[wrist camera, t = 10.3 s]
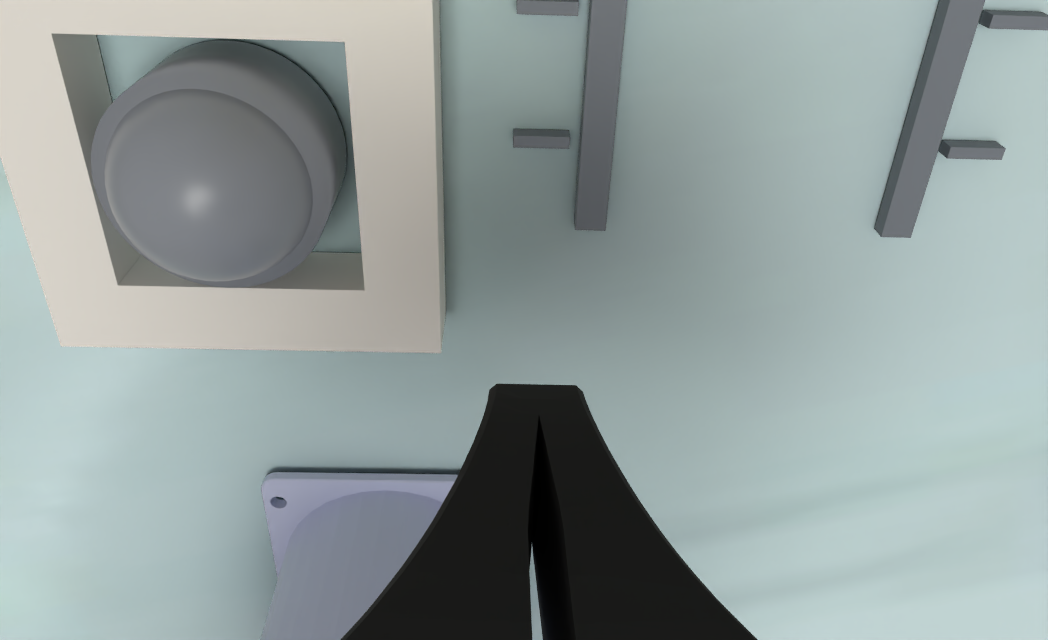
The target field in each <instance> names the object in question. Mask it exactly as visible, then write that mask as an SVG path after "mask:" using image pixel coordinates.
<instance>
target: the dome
mask: <svg viewBox="0 0 1048 640" xmlns="http://www.w3.org/2000/svg"><path fill="white" fill-rule="evenodd" d="M346 162H347V157H346V143H345V137H344V133H343V129H342V126H341V123H340V120H339V118H338V116H337V113H336V111H335V109H334V107H333V106H332V104H331V102H330V101H329V99H328V97H327V96H326V95H325V93H324V92H323V91H322V89H321V88H320V87H319V86H318V85H317V84H316V82H315V81H314V80H313V79H312V78H311V77H310V76H309V75H308V74H306V73H305V72H304V71H303V70H302V69H300V68H299V67H298V66H297V65H295V64H294V63H292V62H291V61H289V60H288V59H286V58H284V57H283V56H281V55H279V54H277V53H275V52H273V51H271V50H268V49H265V48H262V47H260V46H257V45H253V44H249V43H244V42H239V41H228V40H220V41H208V42H202V43H197V44H194V45H191V46H188V47H185V48H183V49H181V50H179V51H177V52H175V53H173V54H172V55H170V56H169V57H167V58H166V59H165V60H163V61H162V62H161V63H159V64H158V65H157V66H156V67H155V68H153V69H152V70H151V71H150V72H148V73H147V74H146V75H145V76H143V77H142V78H141V79H140V80H138V81H137V82H136V83H135V84H133V85H132V86H131V87H130V88H128V89H127V90H126V91H125V92H123V93H122V94H121V95H120V96H119V97H118V98H117V99H116V100H115V101H114V102H113V103H112V104H111V105H110V106H109V107H108V109H107V110H106V112H105V113H104V115H103V116H102V118H101V120H100V122H99V124H98V126H97V128H96V131H95V135H94V138H93V142H92V150H91V172H92V177H93V182H94V187H95V190H96V193H97V196H98V199H99V201H100V203H101V205H102V207H103V209H104V211H105V213H106V215H107V216H108V218H109V220H110V221H111V223H112V224H113V226H114V227H115V228H116V230H117V231H118V232H119V233H120V235H121V236H122V237H123V238H124V239H125V240H126V241H127V242H128V243H129V244H130V245H131V246H132V247H133V248H134V249H135V250H136V251H137V252H139V253H140V254H141V255H142V256H143V257H145V258H146V259H147V260H149V261H150V262H152V263H153V264H155V265H156V266H158V267H160V268H162V269H163V270H165V271H167V272H169V273H171V274H173V275H176V276H178V277H180V278H183V279H185V280H188V281H192V282H195V283H199V284H203V285H208V286H214V287H225V288H238V287H249V286H255V285H260V284H263V283H267V282H270V281H272V280H275V279H277V278H279V277H282V276H283V275H285V274H287V273H288V272H290V271H292V270H293V269H294V268H296V267H297V266H298V265H299V264H300V263H302V262H303V261H304V260H305V258H306V257H307V256H308V255H309V254H310V253H311V252H312V250H313V249H314V247H315V245H316V244H317V242H318V240H319V238H320V236H321V234H322V232H323V229H324V227H325V224H326V222H327V220H328V217H329V215H330V212H331V210H332V208H333V205H334V203H335V200H336V198H337V195H338V193H339V191H340V188H341V186H342V183H343V179H344V175H345V170H346Z"/></svg>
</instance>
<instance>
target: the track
mask: <svg viewBox="0 0 1048 640" xmlns="http://www.w3.org/2000/svg"><path fill="white" fill-rule="evenodd" d="M984 2H985V0H940V1H939V4H938V8H937V11H936V15H935V18H934V22H933V25H932V29H931V32H930V36H929V39H928V43H927V46H926V50H925V53H924V57H923V60H922V64H921V67H920V71H919V74H918V78H917V81H916V85H915V88H914V92H913V95H912V99H911V102H910V106H909V109H908V113H907V116H906V120H905V123H904V127H903V130H902V134H901V137H900V141H899V144H898V148H897V151H896V155H895V158H894V162H893V165H892V169H891V172H890V176H889V179H888V183H887V186H886V190H885V193H884V197H883V200H882V204H881V207H880V211H879V214H878V218H877V221H876V225H875V228H874V229H875V230H876V231H877V232H878V234H879V235H880V236H881V237H906V238H911V235H912V232H913V229H914V226H915V222H916V219H917V216H918V213H919V210H920V206H921V203H922V200H923V197H924V194H925V190H926V187H927V184H928V181H929V178H930V175H931V171H932V168H933V165H934V162H935V159H936V155H937V152H938V149H939V146H940V143H941V146H940V149H939V152H940V153H942V154H943V155H944V156H945V157H946V158H951V159H990V160H1002V157H1003V154H1004V152H1005V149H1006V148H1004V147H1003V146H1001V145H1000V144H999V143H997V142H996V141H962V140H942V142H941V139H942V136H943V133H944V130H945V127H946V123H947V120H948V117H949V114H950V111H951V108H952V104H953V101H954V98H955V95H956V92H957V88H958V85H959V82H960V79H961V76H962V72H963V69H964V66H965V63H966V60H967V57H968V53H969V50H970V47H971V44H972V41H973V37H974V34H975V31H976V28H977V25H978V21H979V18H980V15H981V12H982V9H983V6H984ZM578 6H579V1H578V0H517V14H531V15H564V16H578ZM626 8H627V0H590V6H589V20H588V34H587V48H586V62H585V76H584V90H583V104H582V118H581V132H580V146H579V160H578V174H577V188H576V202H575V216H574V224H575V230H597V231H605V230H606V220H607V209H608V199H609V188H610V177H611V167H612V156H613V146H614V135H615V124H616V114H617V103H618V93H619V82H620V72H621V61H622V50H623V40H624V29H625V19H626ZM979 24H981V25H983V26H985V27H987V28H992V29H1024V30H1048V15H1047V14H1045V13H1043V12H1028V11H996V10H983V12H982V15H981V18H980V22H979ZM569 145H570V134H569V130H543V129H513V147H521V148H561V149H569Z"/></svg>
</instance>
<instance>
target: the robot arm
mask: <svg viewBox="0 0 1048 640" xmlns="http://www.w3.org/2000/svg"><path fill="white" fill-rule="evenodd" d="M261 492H262V497H263V502H264V508H265V513H266V518H267V524H268V529H269V535H270V540H271V545H272V551H273V556H274V562H275V567H276V572H277V578H278V580H277V584H276V587H275V591H274V594H273V597H272V601H271V604H270V608H269V611H268V615H267V618H266V622H265V625H264V629H263V632H262V635H261V639H260V640H532V625H531V601H530V577H529V569H530V557H531V546H532V547H533V556H534V565H535V574H536V582H537V591H538V600H539V608H540V617H541V626H542V634H543V640H757V639H756V638H755V637H754V636H753V635H752V634H751V633H750V632H749V631H748V630H747V629H746V628H745V627H744V626H743V625H742V624H741V623H740V622H739V621H738V620H737V619H736V618H735V617H734V616H733V615H732V614H731V613H730V612H729V611H728V610H727V609H726V608H725V607H724V606H723V605H722V604H721V603H720V602H719V601H718V600H717V599H716V598H715V596H714V595H713V594H712V593H711V592H710V591H709V590H708V588H707V587H706V586H705V585H704V584H703V583H702V582H701V581H700V579H699V578H698V577H697V576H696V575H695V574H694V573H693V571H692V570H691V569H690V568H689V567H688V565H687V564H686V563H685V562H684V560H683V559H682V558H681V557H680V556H679V554H678V553H677V552H676V551H675V549H674V548H673V547H672V545H671V544H670V543H669V542H668V540H667V539H666V538H665V536H664V535H663V534H662V532H661V531H660V529H659V528H658V527H657V525H656V524H655V523H654V521H653V520H652V518H651V517H650V515H649V514H648V512H647V511H646V509H645V508H644V507H643V505H642V504H641V502H640V501H639V499H638V498H637V496H636V494H635V493H634V491H633V490H632V488H631V487H630V485H629V483H628V482H627V480H626V478H625V477H624V475H623V473H622V472H621V470H620V468H619V467H618V465H617V463H616V461H615V460H614V458H613V456H612V454H611V453H610V451H609V449H608V447H607V445H606V443H605V441H604V439H603V437H602V436H601V434H600V432H599V430H598V428H597V425H596V423H595V421H594V419H593V417H592V415H591V412H590V410H589V408H588V405H587V403H586V400H585V397H584V394H583V392H582V391H581V390H580V389H579V388H578V387H577V386H576V385H530V384H496V385H495V386H494V387H492V388H491V389H490V390H489V396H488V402H487V405H486V409H485V413H484V416H483V419H482V422H481V424H480V427H479V430H478V432H477V435H476V437H475V440H474V442H473V445H472V447H471V449H470V451H469V453H468V455H467V457H466V460H465V462H464V464H463V466H462V468H461V470H460V472H459V474H458V475H448V474H375V473H302V472H275V473H270V474H268V475H267V476H266V477H265V478H264V480H263V483H262V487H261ZM276 497H282V498H284V500H281V499H277V498H276Z"/></svg>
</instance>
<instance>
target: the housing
mask: <svg viewBox="0 0 1048 640" xmlns="http://www.w3.org/2000/svg"><path fill="white" fill-rule="evenodd" d="M96 35H124V36H158V37H192V38H226V39H261V40H295V41H329V42H345V52H346V64H347V77H348V89H349V102H350V114H351V126H352V139H353V151H354V164H355V176H356V188H357V201H358V213H359V226H360V238H361V250H362V253H332V252H311V253H310V254H309V255H308V256H307V257H306V258H305V260H304V261H303V262H302V263H300V264H299V265H298V266H297V267H296V268H294V269H293V270H292V271H290V272H288V273H287V274H285V275H283V276H282V277H279V278H277V279H275V280H272V281H270V282H267V283H263V284H260V285H255V286H249V287H238V288H225V287H214V286H208V285H203V284H199V283H195V282H192V281H188V280H185V279H183V278H180V277H178V276H176V275H173V274H171V273H169V272H167V271H165V270H163V269H162V268H160V267H158V266H156V265H155V264H153V263H152V262H150V261H149V260H147V259H146V258H145V257H143V256H142V255H141V254H140V253H139V252H137V251H136V250H135V249H134V248H133V247H132V246H131V245H130V244H129V243H128V242H127V241H126V240H125V239H124V238H123V237H122V236H121V235H120V233H119V232H118V231H117V230H116V228H115V227H114V226H113V224H112V223H111V221H110V220H109V218H108V216H107V215H106V213H105V211H104V209H103V207H102V205H101V203H100V201H99V199H98V196H97V193H96V190H95V187H94V182H93V177H92V172H91V150H92V142H93V138H94V135H95V131H96V128H97V126H98V124H99V122H100V120H101V118H102V116H103V115H104V113H105V112H106V110H107V109H108V107H109V106H110V105H111V104H112V100H111V96H110V92H109V87H108V83H107V79H106V75H105V70H104V66H103V62H102V58H101V53H100V49H99V45H98V41H97V37H96ZM0 157H1V160H2V164H3V167H4V170H5V173H6V176H7V179H8V182H9V185H10V189H11V192H12V195H13V198H14V201H15V204H16V207H17V210H18V213H19V217H20V220H21V223H22V226H23V229H24V232H25V235H26V238H27V242H28V245H29V248H30V251H31V254H32V257H33V260H34V263H35V267H36V270H37V273H38V276H39V279H40V282H41V285H42V288H43V292H44V295H45V298H46V301H47V304H48V307H49V310H50V313H51V317H52V320H53V323H54V326H55V329H56V332H57V335H58V338H59V342H60V345H61V346H71V347H126V348H181V349H237V350H292V351H347V352H402V353H441V350H442V342H443V333H444V325H445V316H446V297H445V248H444V200H443V151H442V103H441V54H440V6H439V0H0Z"/></svg>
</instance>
